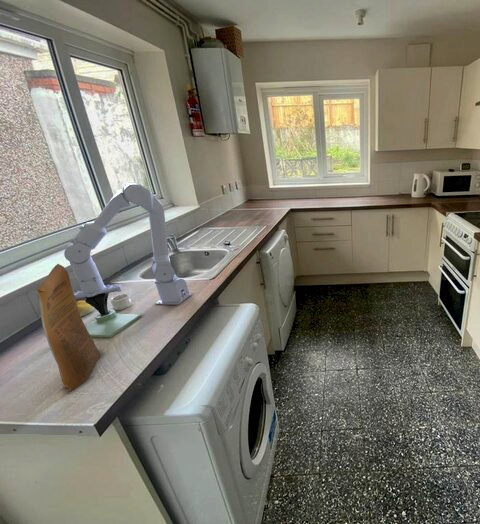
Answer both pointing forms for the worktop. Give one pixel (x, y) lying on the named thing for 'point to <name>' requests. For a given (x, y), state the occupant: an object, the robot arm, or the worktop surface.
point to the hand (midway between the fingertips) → (104, 313)
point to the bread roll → (84, 308)
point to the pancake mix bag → (66, 329)
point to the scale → (110, 323)
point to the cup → (121, 301)
